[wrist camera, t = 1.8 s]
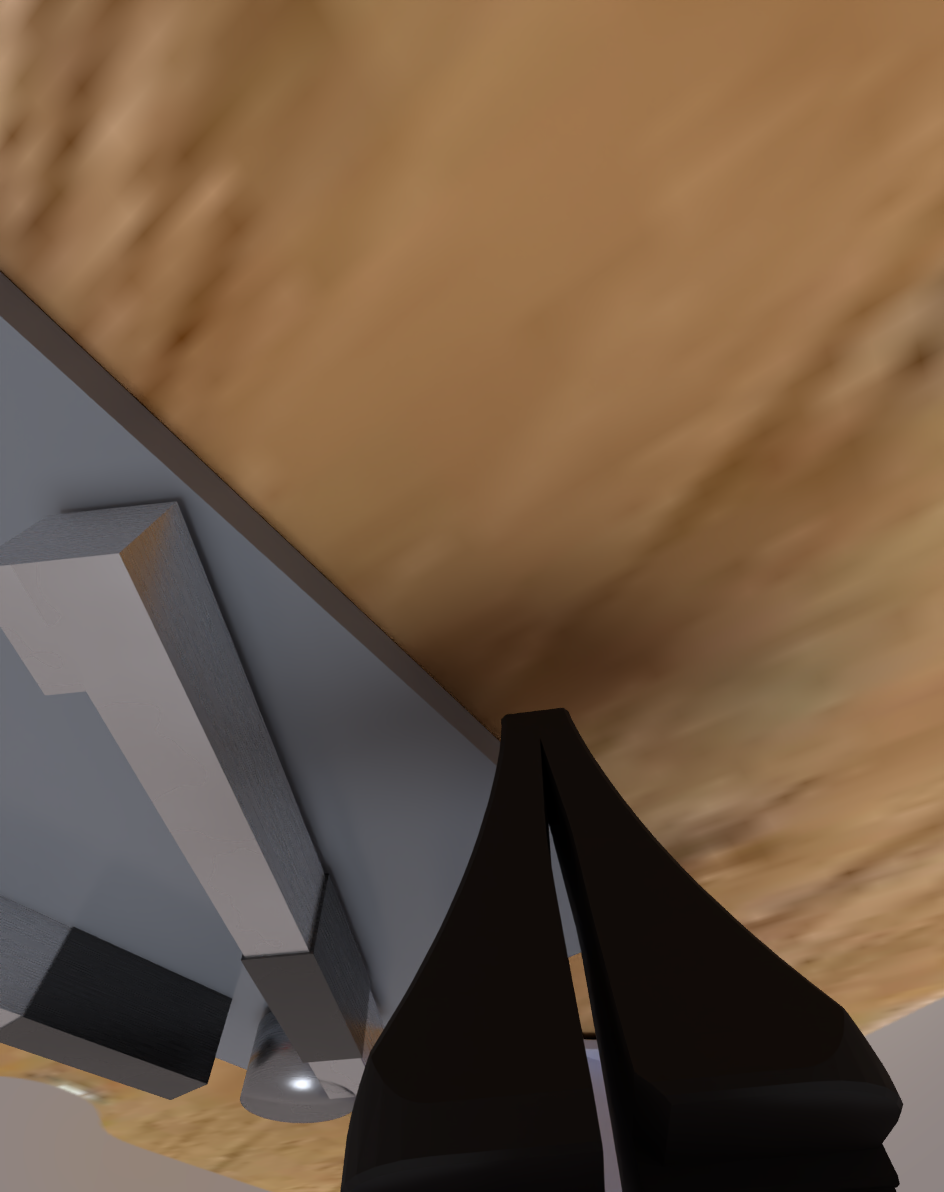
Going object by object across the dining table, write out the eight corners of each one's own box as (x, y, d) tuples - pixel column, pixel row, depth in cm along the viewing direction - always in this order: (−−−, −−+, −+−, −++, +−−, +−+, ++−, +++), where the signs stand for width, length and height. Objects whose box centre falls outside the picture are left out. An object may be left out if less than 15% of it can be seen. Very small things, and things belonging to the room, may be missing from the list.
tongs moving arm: (396, 1044, 21) (391, 1118, 19) (275, 1055, 21) (259, 1128, 20) (183, 499, 10) (123, 554, 8) (-72, 527, 10) (-187, 587, 8)
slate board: (654, 887, 19) (664, 917, 18) (278, 1050, 24) (272, 1079, 23) (-188, 95, 8) (-266, 76, 7) (-530, 707, 13) (-597, 739, 12)
